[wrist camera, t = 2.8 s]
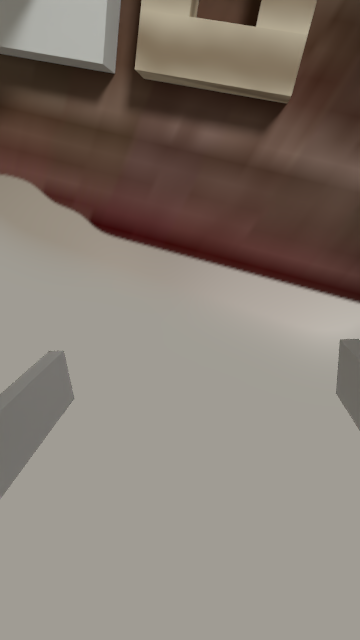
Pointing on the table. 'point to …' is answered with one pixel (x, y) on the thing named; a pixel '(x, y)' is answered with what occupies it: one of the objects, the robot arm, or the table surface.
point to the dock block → (224, 48)
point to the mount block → (62, 31)
